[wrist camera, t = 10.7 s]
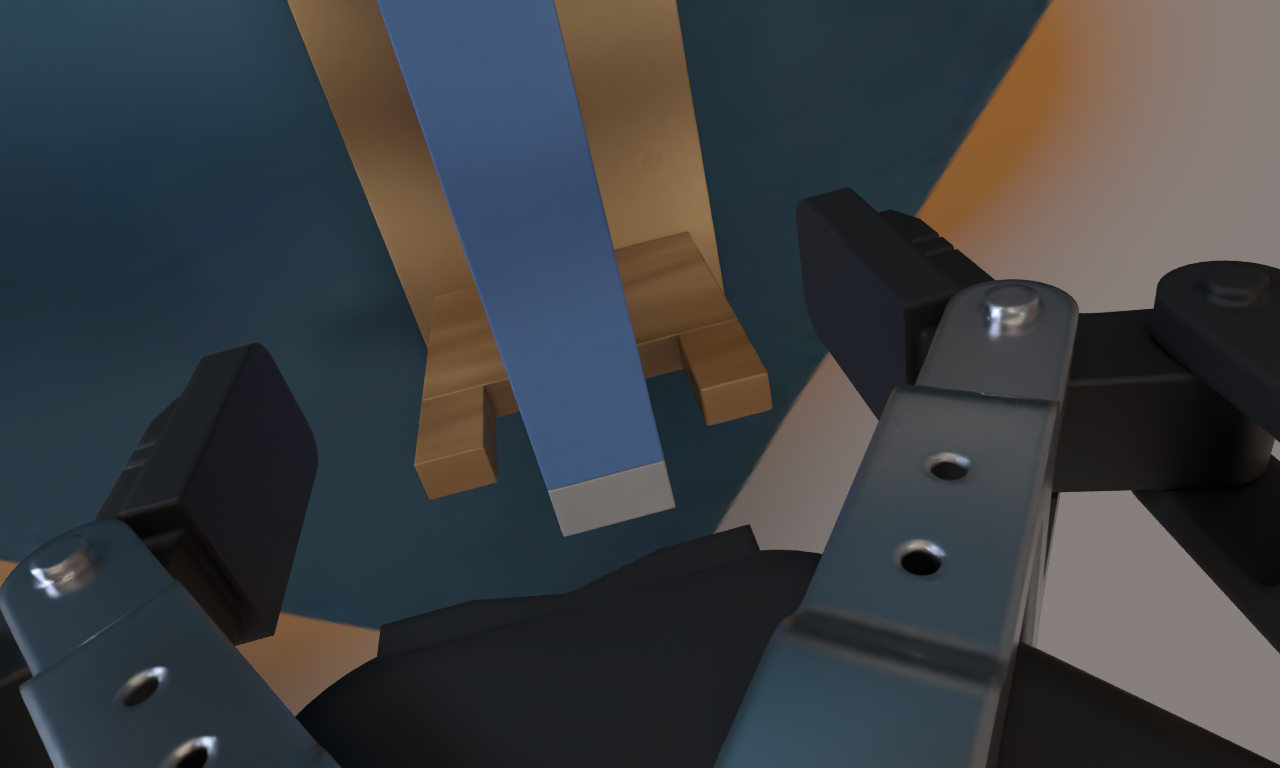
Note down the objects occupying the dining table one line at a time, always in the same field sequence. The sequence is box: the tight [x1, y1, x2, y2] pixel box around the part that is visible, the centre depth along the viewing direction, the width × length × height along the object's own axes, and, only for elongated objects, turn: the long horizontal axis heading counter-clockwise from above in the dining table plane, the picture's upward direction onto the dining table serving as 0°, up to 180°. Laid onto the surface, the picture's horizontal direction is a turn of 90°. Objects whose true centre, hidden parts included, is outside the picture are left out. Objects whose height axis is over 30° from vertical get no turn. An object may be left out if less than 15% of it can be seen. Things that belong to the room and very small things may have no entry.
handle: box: [377, 0, 675, 536], centre depth 19 cm, size 17×3×4 cm, turn 12°
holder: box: [287, 0, 772, 500], centre depth 22 cm, size 20×11×11 cm, turn 12°
